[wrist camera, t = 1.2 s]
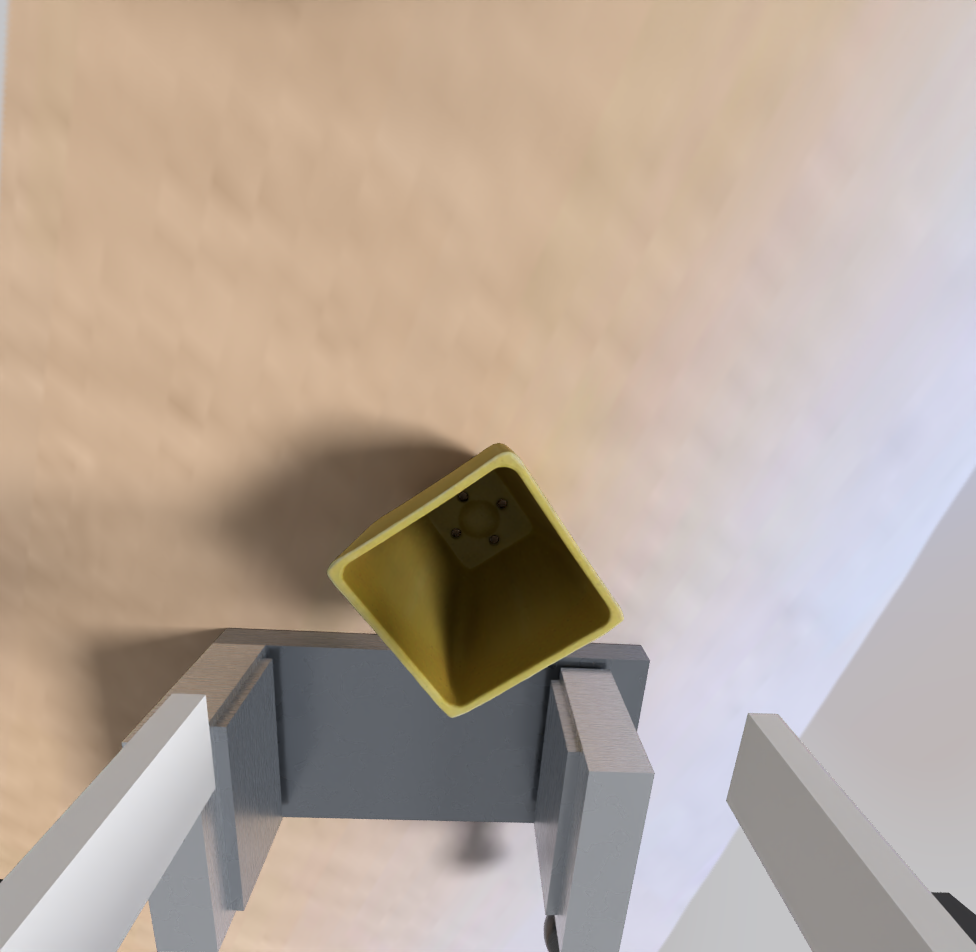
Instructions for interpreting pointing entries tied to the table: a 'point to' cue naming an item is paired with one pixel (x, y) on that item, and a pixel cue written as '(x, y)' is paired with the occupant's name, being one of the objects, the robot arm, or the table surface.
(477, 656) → the flower pot
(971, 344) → the table surface
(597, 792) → the block
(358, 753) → the vise base
